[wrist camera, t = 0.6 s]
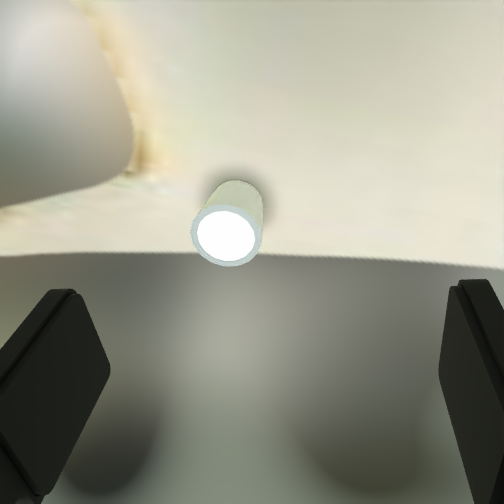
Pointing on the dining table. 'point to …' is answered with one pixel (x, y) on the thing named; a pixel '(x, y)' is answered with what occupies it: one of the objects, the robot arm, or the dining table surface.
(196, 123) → the dining table surface
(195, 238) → the shot glass
